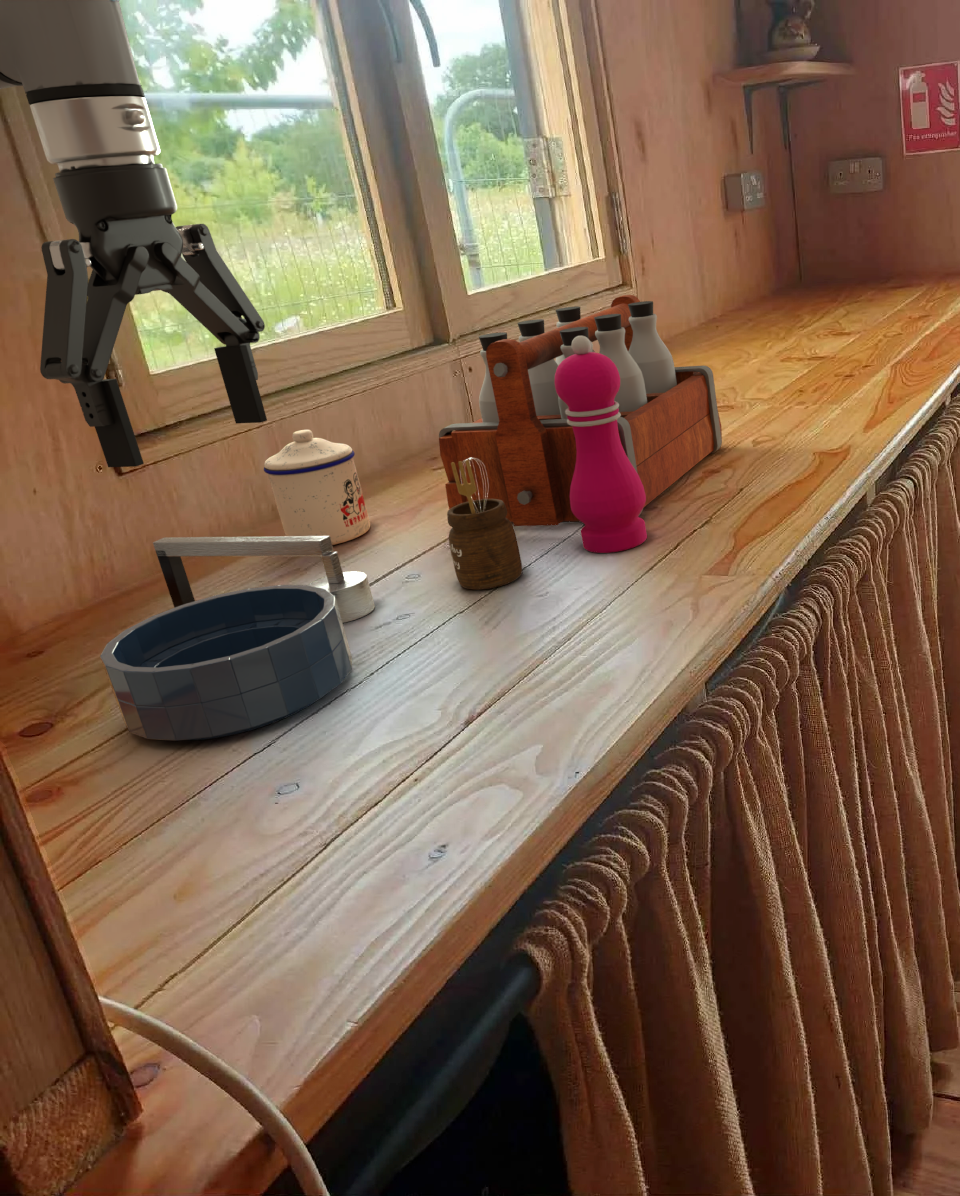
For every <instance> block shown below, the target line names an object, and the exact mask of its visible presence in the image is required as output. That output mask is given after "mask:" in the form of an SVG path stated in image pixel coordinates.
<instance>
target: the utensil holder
mask: <svg viewBox="0 0 960 1196" xmlns="http://www.w3.org/2000/svg"><path fill="white" fill-rule="evenodd" d="M468 459H471V458H468ZM468 459H466V460H464V461H466V462H465V464H466V466H467V469H468V473H469V477H470V481H471V483H468V482H467V478H466V472H464V468H463V465H464V463H463V462H464V461H463V462H461V461H459V462H458V464H459V468H460V471H461V473H460V477H461V475H462V479H463V483H464V484H460V481H459V477H458V473H457V470H456V466H455V463H454V462H452V463H451V466H452V470H453V473H454V477H455V481H456V485H457V488H458V492H459V494H461V495H464V496H466V497H467V498H468V502H465V503H462V504H459V505H456V506H454V507H452V508H451V509H449V508H448V510H447V523H448V526H449V527H451V528H450V530H449V532H448V544H449V551H450V555H451V559H452V564H453V567H454V571H455V575H456V579H457V581H458V583H459V585H460V586H461V587H462V588H464V589H466V590H474V591H475V590H476V591H477V590H490V589H494V588H499V587H503V586H505V585H508V584H511V583H513V582H514V581H516V580H517V579H518V578H519V577H521V575H522V573H523V565H522V564H523V563H522V557H521V552H520V548H519V543H518V538H517V534H516V530H515V526H514V524H513V523H511V522H510V520H508V519H507V518H505V517H506V516H507V509H506V506H505V504H504V502H503V501H502V500H499V499H484V498H483V499H480V498H479V500H473V499H472V498H471V497H472V496H471V495H472V494H474V493H475V492H476V490H477V489H476V485H475V481H474V477H473V473H472V470H471V466H470V462H469V460H468ZM472 459H474V460H475V459H476V460H477V458H472ZM472 459H471V460H472ZM478 460H479V459H478ZM476 462H477V461H476ZM462 463H463V464H462ZM472 463H473V461H472ZM477 463H478V462H477ZM480 464H481V463H480ZM478 465H479V464H478ZM483 465H484V464H483ZM481 466H482V465H481ZM473 467H474V465H473ZM479 467H480V466H479ZM484 467H485V466H484ZM482 469H483V467H482ZM485 470H486V469H485ZM480 471H481V469H480ZM474 472H475V469H474ZM483 473H484V471H483ZM481 475H482V473H481ZM486 475H487V473H486ZM475 477H476V474H475ZM484 478H485V475H484ZM482 480H483V478H482ZM487 480H488V477H487ZM476 482H477V479H476ZM461 483H462V480H461ZM485 485H486V481H485ZM477 488H478V485H477ZM483 488H484V483H483ZM488 490H489V484H488ZM478 494H479V491H478ZM475 495H476V493H475ZM487 497H488V494H487ZM485 498H486V493H485ZM476 499H477V497H476ZM472 500H473V501H472Z"/></svg>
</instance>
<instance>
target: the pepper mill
mask: <svg viewBox="0 0 960 1196" xmlns="http://www.w3.org/2000/svg"><path fill="white" fill-rule="evenodd" d="M571 346H572V350H573V351H574V353H576V354H574V355H571V356H569V357H567V358H566V359H564V360H563V361H562V362H561V363H560V364H559V366H558V367H557V369H556V373H555V389H556V392H557V394H558V396H559V397H560V398H561V399H562V400H563V401H564V402H565V403H566V404H567V405H568V407H569V408H567V409H566V411H565V413H566V415H568V416H567V418H568V420H567V423H568V424H569V425H571V426H572V427H573V431H574V435H575V439H576V450H577V455H576V465H575V470H574V474H573V478H572V482H571V486H570V505H571V510H572V512H573V514H574V515H575V516H576V517H577V518H578V519H579V520H580V521H581V522H580V523H582V524H584V526H583V527H581V529H580V537H581V543H582V548H583V549H585V550H586V551H587V552H590V553H595V554H596V553H597V554H609V553H611V554H612V553H619V552H623V551H627V550H630V549H634V548H635V547H638V546H640V545H642V544H643V543H644V542H646V540H647V538H648V534H647V528H646V522H645V520H644V519H643V518H641V517H640V515H641V514H640V512H641V510H642V509H643V510H644V508H645V507H644V505H645V502H646V495H645V491H644V487H643V484H642V482H641V480H640V477H639V475H638V473H637V472H636V470H635V469H634V467H633V466H632V464H631V462H630V461H629V459H628V457H627V455H626V454H625V452H624V449H623V447H622V444H621V441H620V437H619V433H618V425H617V419H618V418H620V416H621V414H620V412H619V409H618V407H619V403H618V402H616V401H614V398H615V396H616V394H617V392H618V391H619V388H620V375H619V372H618V369H617V367H616V365H615V364H614V363H613V361H612V360H611V359H610V358H608V357H607V356H605V355H603V354H600V353H599V352H596V351H595V352H589V351H590V349H591V343H590V340H589V339H588V338H587V337H585V336H577V337H575V338H574V339H573V341H572V345H571ZM643 507H644V508H643ZM639 514H640V515H639ZM638 515H639V516H638Z"/></svg>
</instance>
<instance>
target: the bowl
mask: <svg viewBox="0 0 960 1196" xmlns="http://www.w3.org/2000/svg"><path fill="white" fill-rule="evenodd" d="M308 585H309V584H277V585H268V586H258V587H250V588H245V589H239V590H234V591H230V592H229V591H228V592H225V593H220V594H216V595H212V596H207V597H205V598H201V599H198V600H195V601H194V602H191V603H187V604H184V605H181V606H178V607H175V608H174V607H173V608H170V609H168V610H165V611H162V612H160V613H157V614H154V615H152V616H150V617H148V618H146V619H143V620H142V621H140V622H138V623H136V624H134V625H132V626H130V627H128V628H126V629H124V630H122V631H121V632H120V633H119V634H117V635H116V636H114V638H112V639H111V640H110V641H108V642H107V643H106V644H105V646H104V648H103V650H102V652H101V654H100V656H99V657H100V660H101V663H102V666H103V668H104V671H105V675H106V677H107V679H108V682H109V685H110V689H111V691H112V694H113V696H114V699H115V701H116V704H117V707H118V710H119V712H120V715H121V718H122V720H123V723H124V724H125V726H126V728H127V731H128V732H129V733H130V734H133V735H136V736H139V737H141V738H144V739H147V740H158V741H160V740H161V741H199V740H200V741H202V740H210V739H217V738H224V737H229V736H233V735H239V734H242V733H246V732H249V731H254V730H256V729H260V728H263V727H266V726H269V725H271V724H274V723H277V722H279V721H281V720H284V719H286V718H289V717H291V716H292V715H294V714H297V713H299V712H301V711H303V710H304V709H307V708H308V707H309V706H311V705H313V704H314V703H316V702H317V701H319V700H320V699H321V698H323V697H324V696H326V695H327V694H330V692H331V691H333V690H334V689H335V688H338V686H340V685H341V684H342V683H343V682H344V681H345V679H346V678H347V677H348V675H350V673H351V671H353V656H352V652H351V649H350V645H349V641H348V638H347V634H346V630H345V628H344V623H342V619H341V616H340V612H339V608H338V605H337V601H336V598H335V596H334V595H332V594H331V593H330V592H328V591H327V590H326V589H323V588H318V587H313V586H308Z"/></svg>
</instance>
